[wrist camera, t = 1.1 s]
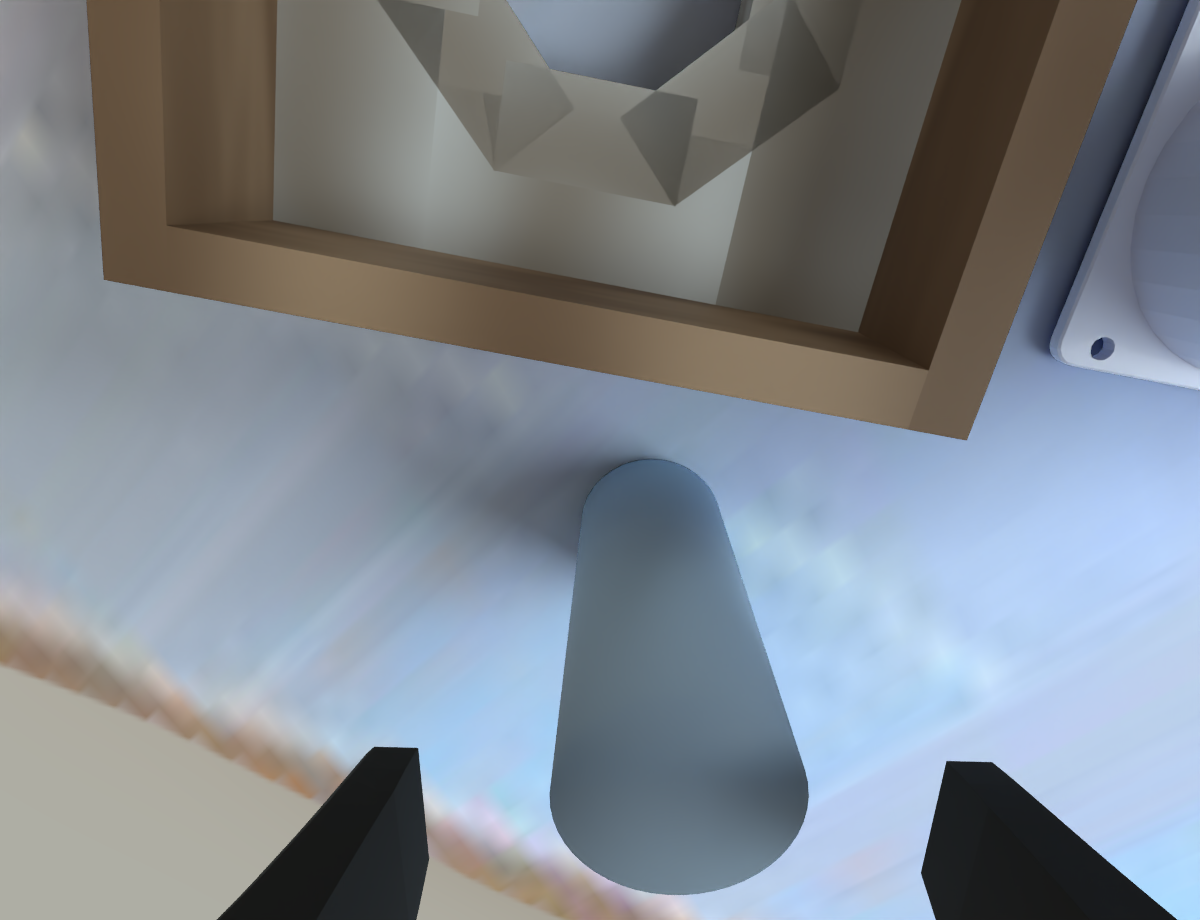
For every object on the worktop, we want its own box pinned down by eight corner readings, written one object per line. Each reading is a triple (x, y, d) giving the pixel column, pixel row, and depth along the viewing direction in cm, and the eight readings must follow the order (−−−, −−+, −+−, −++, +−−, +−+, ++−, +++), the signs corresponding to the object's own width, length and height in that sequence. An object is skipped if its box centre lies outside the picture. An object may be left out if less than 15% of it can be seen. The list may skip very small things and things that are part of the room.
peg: (735, 473, 18) (841, 720, 9) (701, 595, 19) (769, 911, 10) (594, 447, 18) (573, 674, 9) (570, 572, 19) (531, 874, 10)
